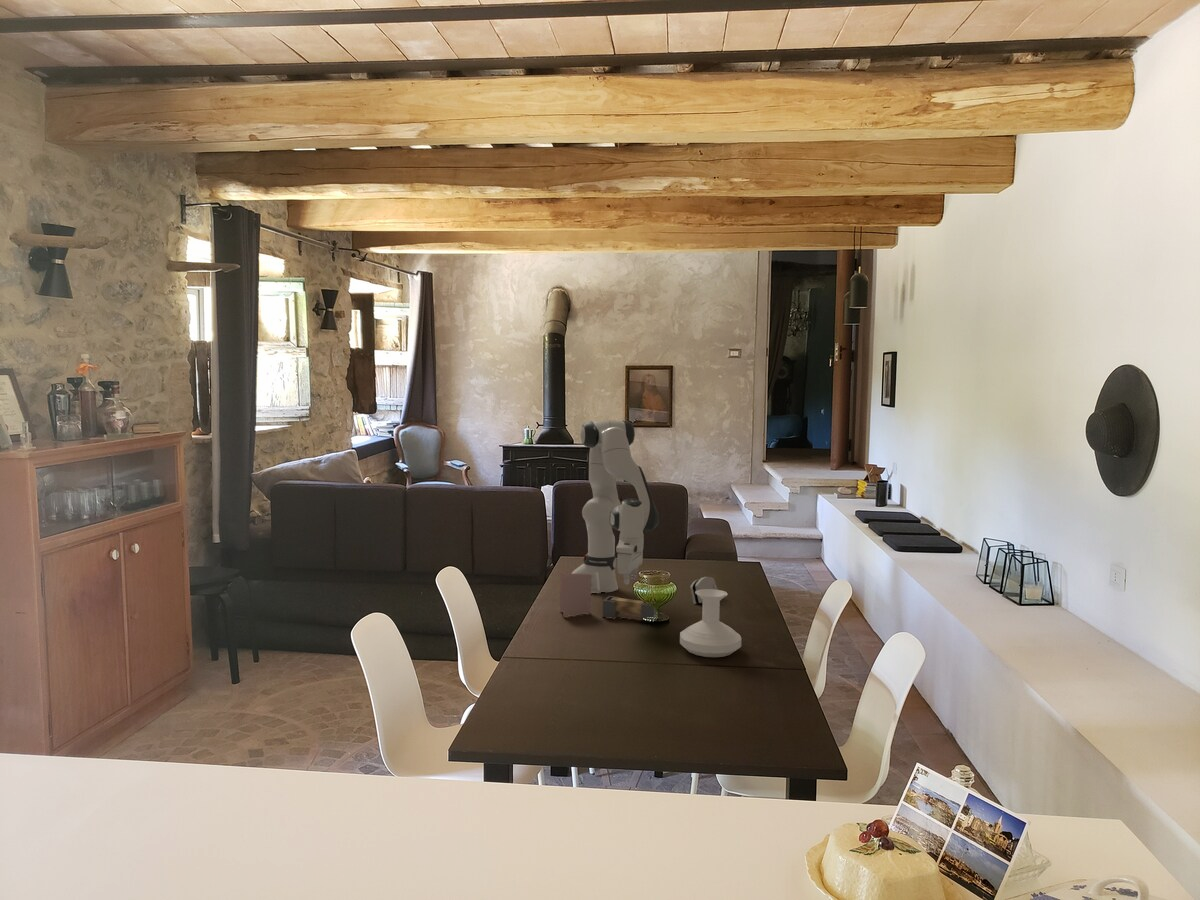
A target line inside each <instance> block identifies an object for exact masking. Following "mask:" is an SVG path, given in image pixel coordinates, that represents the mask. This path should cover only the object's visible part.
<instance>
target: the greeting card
mask: <svg viewBox="0 0 1200 900" xmlns="http://www.w3.org/2000/svg"><path fill="white" fill-rule="evenodd" d="M559 575H560V579H559V580H560V584H559V585H560V586H559V587H560V589H559V591H560V592H559V598H560V600H559V603H560V604H559V608H560V609H559V612H560V611H563V613H562V617H563V616H568V615H577V614H583V613H592V612H591V611H592V610H591V608H592V607H591V603H592V602H591V599H592V598H591V596H592V595H591V594H592V593H591V574H571V573H569V572H568V573H567V572H566V573H564V572H563V573H560V574H559Z"/></svg>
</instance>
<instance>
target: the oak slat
mask: <svg viewBox="0 0 1200 900" xmlns="http://www.w3.org/2000/svg"><path fill="white" fill-rule="evenodd" d="M615 597H616V596H614V597H613V598H612V599H610V601H616V611H620V613H628V614H637V615H641V605H642V604H646V603H644V602H643V601H644V600H640V599H639V600H638V599H629V598H621V597H620V598H615ZM647 605H648V604H647Z"/></svg>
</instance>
